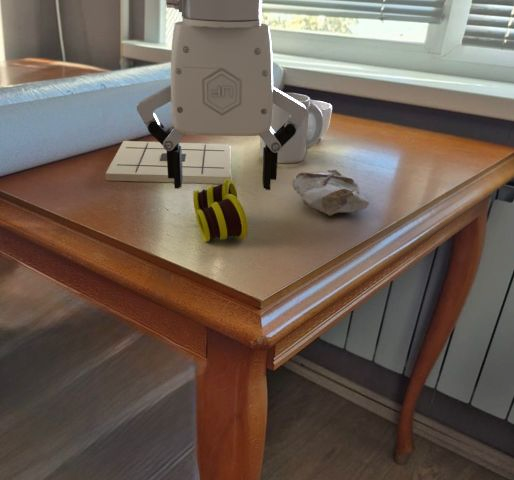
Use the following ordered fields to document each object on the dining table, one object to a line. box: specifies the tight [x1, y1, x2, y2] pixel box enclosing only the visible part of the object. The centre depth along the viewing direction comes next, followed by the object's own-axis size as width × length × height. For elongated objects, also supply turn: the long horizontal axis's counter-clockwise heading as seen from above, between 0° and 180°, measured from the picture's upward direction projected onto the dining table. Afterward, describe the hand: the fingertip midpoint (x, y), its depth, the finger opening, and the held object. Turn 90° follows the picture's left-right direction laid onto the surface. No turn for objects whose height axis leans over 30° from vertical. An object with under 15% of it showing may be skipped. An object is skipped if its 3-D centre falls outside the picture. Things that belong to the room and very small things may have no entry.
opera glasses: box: [192, 179, 249, 243], centre depth 68 cm, size 10×5×5 cm, turn 9°
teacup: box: [307, 99, 333, 138], centre depth 105 cm, size 10×8×5 cm
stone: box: [291, 169, 370, 217], centre depth 78 cm, size 12×9×3 cm
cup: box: [259, 91, 323, 164], centre depth 94 cm, size 7×10×9 cm
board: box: [104, 140, 232, 185], centre depth 90 cm, size 17×17×1 cm
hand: (222, 185), depth 67 cm, fingers open, 9 cm apart
